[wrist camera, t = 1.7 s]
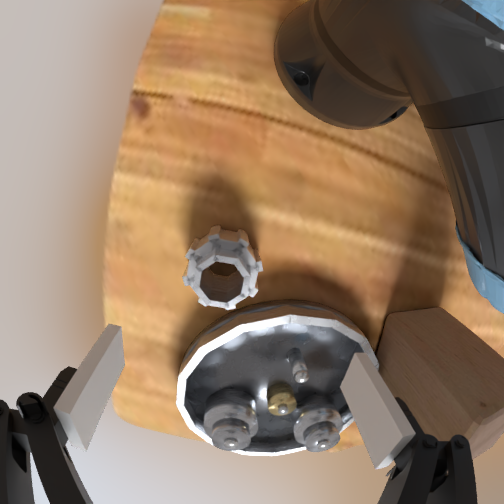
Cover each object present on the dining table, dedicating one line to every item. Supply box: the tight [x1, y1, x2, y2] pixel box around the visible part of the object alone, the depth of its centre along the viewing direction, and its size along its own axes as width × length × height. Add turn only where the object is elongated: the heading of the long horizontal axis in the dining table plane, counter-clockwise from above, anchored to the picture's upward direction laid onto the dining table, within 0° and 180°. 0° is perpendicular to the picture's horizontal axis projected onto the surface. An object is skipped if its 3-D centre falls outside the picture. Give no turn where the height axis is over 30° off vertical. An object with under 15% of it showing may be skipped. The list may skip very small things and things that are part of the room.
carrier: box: [176, 300, 379, 456], centre depth 30 cm, size 25×25×8 cm
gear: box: [182, 225, 263, 310], centre depth 25 cm, size 7×7×6 cm
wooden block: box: [376, 307, 504, 474], centre depth 24 cm, size 10×10×20 cm
